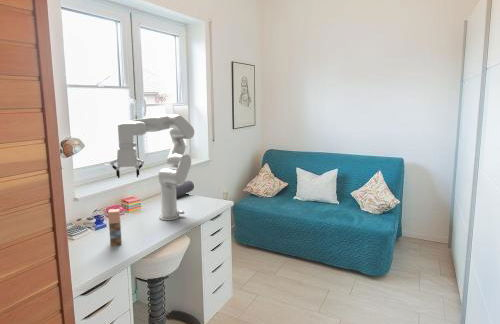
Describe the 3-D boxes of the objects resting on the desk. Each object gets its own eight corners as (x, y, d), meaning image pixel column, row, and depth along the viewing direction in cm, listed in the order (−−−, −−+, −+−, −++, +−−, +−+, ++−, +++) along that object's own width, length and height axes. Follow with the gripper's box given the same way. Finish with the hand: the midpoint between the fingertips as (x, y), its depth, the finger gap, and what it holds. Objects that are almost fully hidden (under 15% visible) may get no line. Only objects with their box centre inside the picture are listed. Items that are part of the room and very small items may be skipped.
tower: (121, 241, 192) (120, 219, 189) (120, 245, 187) (119, 222, 185) (111, 242, 190) (110, 220, 188) (110, 245, 185) (109, 223, 183)
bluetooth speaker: (185, 191, 291) (185, 179, 290) (194, 193, 287) (194, 180, 285) (165, 198, 272) (165, 185, 270) (175, 199, 268) (174, 186, 266)
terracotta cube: (120, 219, 189) (119, 208, 188) (119, 222, 185) (118, 211, 184) (110, 220, 188) (109, 209, 187) (109, 223, 183) (108, 212, 182)
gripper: (143, 144, 199) (144, 174, 203) (110, 145, 195) (112, 176, 198) (143, 146, 192) (144, 177, 195) (108, 147, 188) (110, 179, 191)
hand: (128, 177), depth 197 cm, fingers open, 9 cm apart
